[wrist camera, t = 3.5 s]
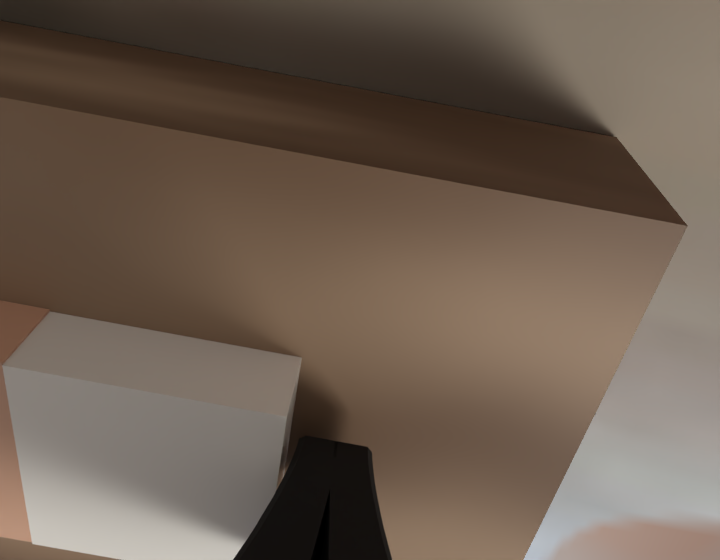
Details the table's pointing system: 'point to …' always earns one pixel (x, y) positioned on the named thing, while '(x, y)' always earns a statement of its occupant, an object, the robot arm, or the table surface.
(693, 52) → the table surface
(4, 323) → the terracotta tile
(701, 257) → the table surface
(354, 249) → the brown block
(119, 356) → the cream tile
